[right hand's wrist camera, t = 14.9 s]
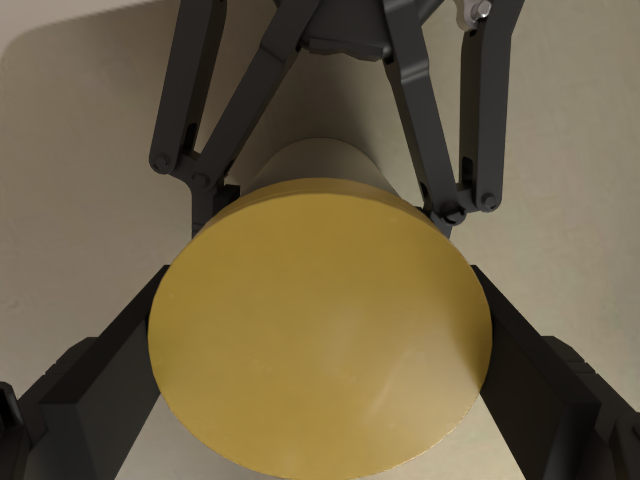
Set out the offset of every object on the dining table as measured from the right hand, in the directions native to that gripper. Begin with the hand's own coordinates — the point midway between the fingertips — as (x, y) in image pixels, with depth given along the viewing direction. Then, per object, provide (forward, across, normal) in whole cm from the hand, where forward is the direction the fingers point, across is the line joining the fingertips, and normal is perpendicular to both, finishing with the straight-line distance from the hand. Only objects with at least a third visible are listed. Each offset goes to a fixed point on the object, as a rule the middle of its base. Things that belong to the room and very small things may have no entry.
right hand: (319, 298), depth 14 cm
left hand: (+6, 0, -4) cm, 8 cm away
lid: (-3, 0, 0) cm, 3 cm away
